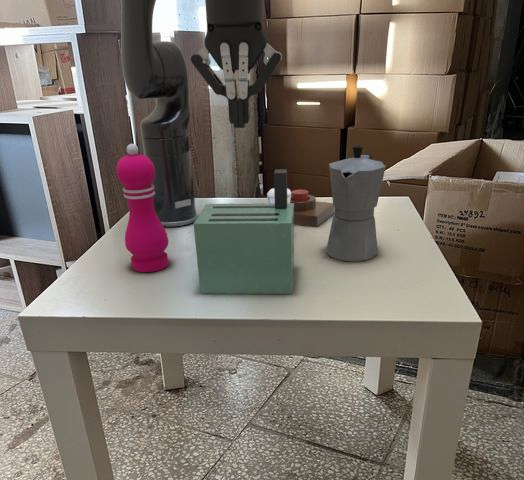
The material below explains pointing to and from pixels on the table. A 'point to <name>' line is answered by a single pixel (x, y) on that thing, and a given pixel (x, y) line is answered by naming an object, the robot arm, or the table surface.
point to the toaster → (245, 248)
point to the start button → (299, 195)
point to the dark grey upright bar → (280, 188)
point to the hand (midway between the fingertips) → (239, 127)
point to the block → (311, 211)
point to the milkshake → (272, 197)
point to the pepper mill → (142, 213)
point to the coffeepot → (354, 206)
